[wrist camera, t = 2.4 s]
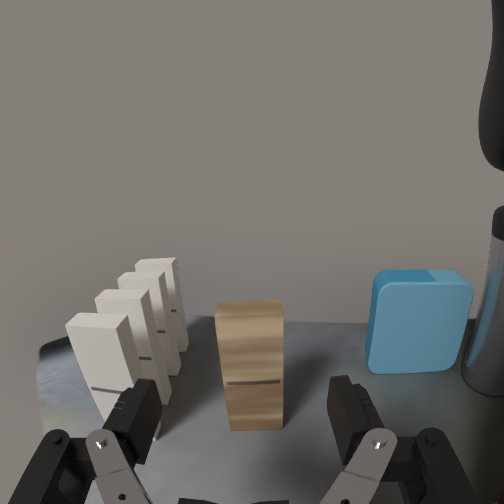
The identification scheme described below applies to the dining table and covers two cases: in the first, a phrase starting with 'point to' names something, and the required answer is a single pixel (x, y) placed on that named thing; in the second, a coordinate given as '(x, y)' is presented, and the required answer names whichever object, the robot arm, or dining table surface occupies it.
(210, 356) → the dining table surface
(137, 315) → the tile
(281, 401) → the tile
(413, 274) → the data package
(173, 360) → the white domino block
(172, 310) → the end tile
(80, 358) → the tile
